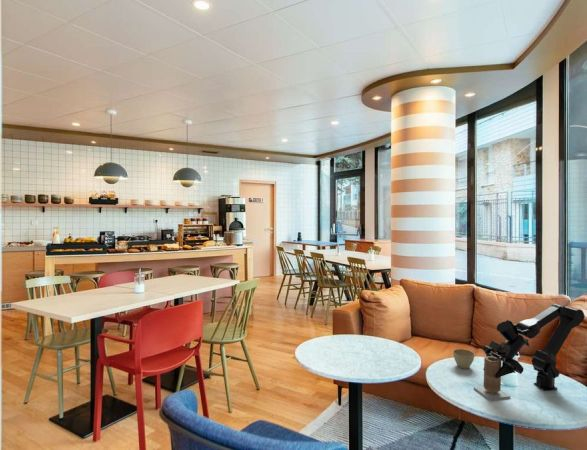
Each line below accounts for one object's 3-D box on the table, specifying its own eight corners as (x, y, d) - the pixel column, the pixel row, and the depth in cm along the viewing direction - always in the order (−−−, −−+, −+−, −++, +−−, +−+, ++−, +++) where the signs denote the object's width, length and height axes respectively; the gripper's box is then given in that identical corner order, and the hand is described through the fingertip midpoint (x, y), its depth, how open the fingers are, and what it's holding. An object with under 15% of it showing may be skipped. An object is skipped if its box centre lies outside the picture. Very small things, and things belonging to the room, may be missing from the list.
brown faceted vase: (488, 384, 172) (489, 355, 171) (502, 389, 167) (503, 359, 166) (481, 387, 169) (482, 358, 168) (495, 393, 164) (496, 363, 163)
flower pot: (448, 363, 199) (448, 350, 198) (464, 361, 202) (464, 347, 201) (462, 372, 189) (462, 357, 189) (478, 369, 192) (479, 355, 192)
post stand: (493, 387, 174) (494, 375, 174) (510, 398, 164) (510, 385, 164) (473, 389, 172) (474, 377, 172) (489, 400, 162) (489, 388, 162)
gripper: (486, 327, 176) (464, 353, 175) (518, 342, 158) (494, 371, 156) (500, 343, 179) (478, 369, 177) (534, 359, 161) (510, 388, 159)
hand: (489, 373), depth 167 cm, fingers closed on brown faceted vase, 6 cm apart
